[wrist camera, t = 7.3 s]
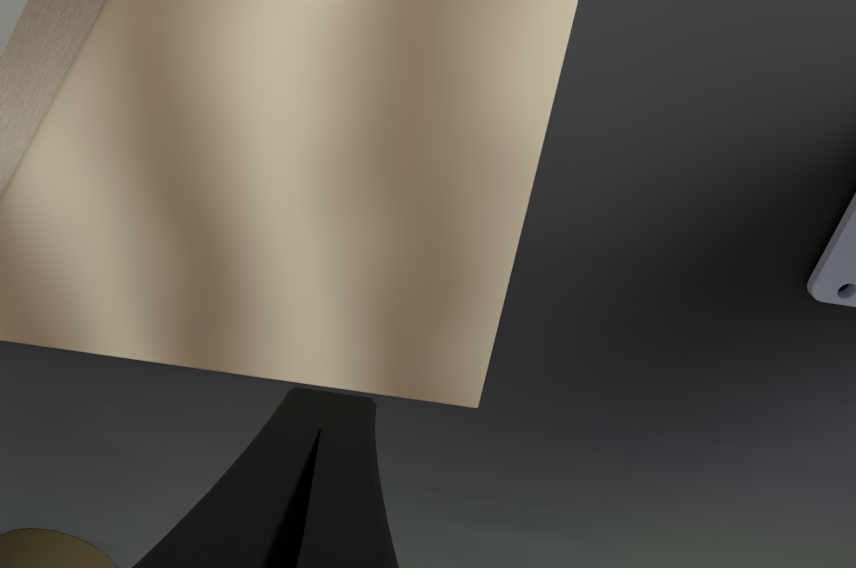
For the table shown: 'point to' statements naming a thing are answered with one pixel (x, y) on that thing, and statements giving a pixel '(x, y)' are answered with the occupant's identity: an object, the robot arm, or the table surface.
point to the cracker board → (286, 188)
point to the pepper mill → (49, 551)
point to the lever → (34, 65)
